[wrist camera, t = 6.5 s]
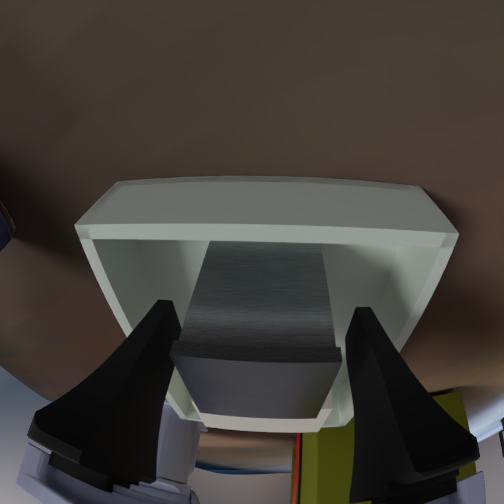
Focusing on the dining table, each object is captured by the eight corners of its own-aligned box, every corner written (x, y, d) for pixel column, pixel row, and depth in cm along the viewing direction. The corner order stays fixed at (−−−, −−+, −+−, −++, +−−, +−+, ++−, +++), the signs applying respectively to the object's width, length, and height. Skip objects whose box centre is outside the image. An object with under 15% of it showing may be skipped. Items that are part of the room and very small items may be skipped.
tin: (310, 306, 14) (316, 418, 10) (221, 303, 15) (200, 412, 10) (320, 231, 12) (342, 362, 7) (210, 229, 12) (169, 354, 7)
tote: (342, 388, 22) (344, 426, 19) (188, 382, 23) (180, 418, 20) (419, 186, 10) (459, 233, 8) (117, 181, 11) (74, 224, 9)
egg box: (316, 385, 20) (318, 432, 17) (213, 380, 21) (205, 426, 17) (328, 351, 17) (332, 408, 14) (203, 346, 18) (191, 401, 14)
